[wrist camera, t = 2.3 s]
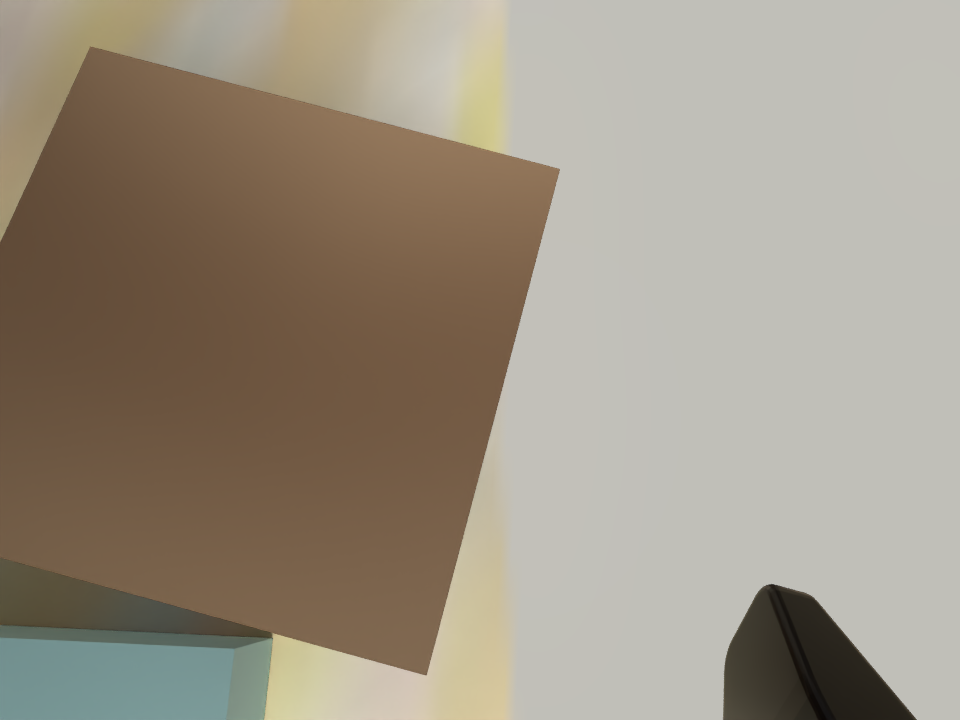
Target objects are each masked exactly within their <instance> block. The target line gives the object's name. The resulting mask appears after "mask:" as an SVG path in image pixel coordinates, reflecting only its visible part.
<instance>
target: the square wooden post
mask: <svg viewBox="0 0 960 720" xmlns="http://www.w3.org/2000/svg"><path fill="white" fill-rule="evenodd" d="M559 171H560V169H557V168H553V167H550V166H546V165H542V164H538V163H535V162H531V161H527V160H523V159H519V158H515V157H512V156H508V155H504V154H500V153H496V152H493V151H489V150H485V149H481V148H477V147H473V146H470V145H466V144H462V143H458V142H454V141H450V140H447V139H443V138H439V137H435V136H431V135H427V134H424V133H420V132H416V131H412V130H408V129H404V128H401V127H397V126H393V125H389V124H385V123H381V122H378V121H374V120H370V119H366V118H362V117H358V116H355V115H351V114H347V113H343V112H339V111H335V110H332V109H328V108H324V107H320V106H316V105H312V104H309V103H305V102H301V101H297V100H293V99H289V98H286V97H282V96H278V95H274V94H270V93H266V92H263V91H259V90H255V89H251V88H247V87H243V86H240V85H236V84H232V83H228V82H224V81H220V80H217V79H213V78H209V77H205V76H201V75H197V74H194V73H190V72H186V71H182V70H178V69H174V68H171V67H167V66H163V65H159V64H155V63H151V62H148V61H144V60H140V59H136V58H132V57H128V56H125V55H121V54H117V53H113V52H109V51H105V50H102V49H98V48H94V47H90V49H89V51H88V53H87V55H86V57H85V60H84V62H83V64H82V66H81V68H80V70H79V73H78V75H77V77H76V79H75V81H74V83H73V86H72V88H71V90H70V92H69V94H68V97H67V99H66V101H65V103H64V105H63V107H62V110H61V112H60V114H59V116H58V118H57V121H56V123H55V125H54V127H53V129H52V131H51V134H50V136H49V138H48V140H47V142H46V145H45V147H44V149H43V151H42V153H41V155H40V158H39V160H38V162H37V164H36V166H35V168H34V171H33V173H32V175H31V177H30V179H29V182H28V184H27V186H26V188H25V190H24V192H23V195H22V197H21V199H20V201H19V203H18V206H17V208H16V210H15V212H14V214H13V216H12V219H11V221H10V223H9V225H8V227H7V230H6V232H5V234H4V236H3V238H2V240H1V243H0V558H3V559H7V560H10V561H14V562H18V563H21V564H25V565H28V566H32V567H36V568H39V569H43V570H47V571H50V572H54V573H57V574H61V575H65V576H68V577H72V578H75V579H79V580H83V581H86V582H90V583H94V584H97V585H101V586H104V587H108V588H112V589H115V590H119V591H123V592H126V593H130V594H133V595H137V596H141V597H144V598H148V599H151V600H155V601H159V602H162V603H166V604H170V605H173V606H177V607H180V608H184V609H188V610H191V611H195V612H199V613H202V614H206V615H209V616H213V617H217V618H220V619H224V620H227V621H231V622H235V623H238V624H242V625H246V626H249V627H253V628H256V629H260V630H264V631H267V632H271V633H275V634H278V635H282V636H285V637H289V638H293V639H296V640H300V641H303V642H307V643H311V644H314V645H318V646H322V647H325V648H329V649H332V650H336V651H340V652H343V653H347V654H351V655H354V656H358V657H361V658H365V659H369V660H372V661H376V662H379V663H383V664H387V665H390V666H394V667H398V668H401V669H405V670H408V671H412V672H416V673H419V674H423V675H427V671H428V668H429V664H430V660H431V656H432V652H433V649H434V645H435V641H436V637H437V634H438V630H439V626H440V622H441V618H442V615H443V611H444V607H445V603H446V599H447V596H448V592H449V588H450V584H451V580H452V577H453V573H454V569H455V565H456V561H457V558H458V554H459V550H460V546H461V542H462V539H463V535H464V531H465V527H466V524H467V520H468V516H469V512H470V508H471V505H472V501H473V497H474V493H475V489H476V486H477V482H478V478H479V474H480V470H481V467H482V463H483V459H484V455H485V451H486V448H487V444H488V440H489V436H490V432H491V429H492V425H493V421H494V417H495V414H496V410H497V406H498V402H499V398H500V395H501V391H502V387H503V383H504V379H505V376H506V372H507V368H508V364H509V360H510V357H511V353H512V349H513V345H514V341H515V337H516V334H517V330H518V326H519V322H520V319H521V315H522V311H523V307H524V304H525V300H526V296H527V292H528V288H529V284H530V281H531V277H532V273H533V269H534V266H535V262H536V258H537V254H538V250H539V247H540V243H541V239H542V235H543V231H544V228H545V223H546V220H547V216H548V212H549V209H550V205H551V201H552V197H553V194H554V190H555V186H556V182H557V178H558V174H559Z"/></svg>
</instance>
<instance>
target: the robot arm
mask: <svg viewBox="0 0 960 720" xmlns="http://www.w3.org/2000/svg"><path fill="white" fill-rule="evenodd" d="M723 720H917V719H916V718H915V717H914V716H913V715H912V713H911V712H910V711H909V710H908V709H907V707H906V706H905V705H904V704H903V703H902V701H901V700H900V699H899V698H898V697H897V696H896V695H895V693H894V692H893V691H892V690H891V688H890V687H889V686H888V685H887V684H886V682H885V681H884V680H883V679H882V678H881V677H880V675H879V674H878V673H877V672H876V671H875V669H874V668H873V667H872V666H871V665H870V664H869V663H868V661H867V660H866V659H865V657H864V656H863V655H862V654H861V653H860V652H859V650H858V649H857V648H856V647H855V646H854V644H853V643H852V642H851V641H850V640H849V638H848V637H847V636H846V635H845V634H844V632H843V631H842V630H841V629H840V628H839V627H838V625H837V624H836V623H835V622H834V621H833V620H832V618H831V617H830V616H829V615H828V614H827V612H826V611H825V610H824V609H823V607H822V606H821V605H820V604H819V603H818V602H817V601H816V600H815V599H814V598H813V597H812V596H811V595H809V594H806V593H804V592H800V591H796V590H793V589H789V588H785V587H782V586H778V585H774V584H770V585H766V586H764V587H763V588H761V590H760V591H759V592H758V593H757V595H756V596H755V598H754V600H753V602H752V604H751V606H750V607H749V609H748V611H747V613H746V615H745V617H744V619H743V621H742V622H741V624H740V626H739V628H738V630H737V632H736V634H735V635H734V637H733V639H732V641H731V643H730V646H729V648H728V652H727V655H726V661H725V670H724V708H723Z"/></svg>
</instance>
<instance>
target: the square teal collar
mask: <svg viewBox="0 0 960 720" xmlns="http://www.w3.org/2000/svg"><path fill="white" fill-rule="evenodd" d="M272 641H273V638H260V637H239V636H218V635H197V634H177V633H156V632H135V631H114V630H93V629H72V628H51V627H30V626H9V625H0V720H264V715H265V705H266V696H267V687H268V678H269V669H270V659H271V650H272Z"/></svg>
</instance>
